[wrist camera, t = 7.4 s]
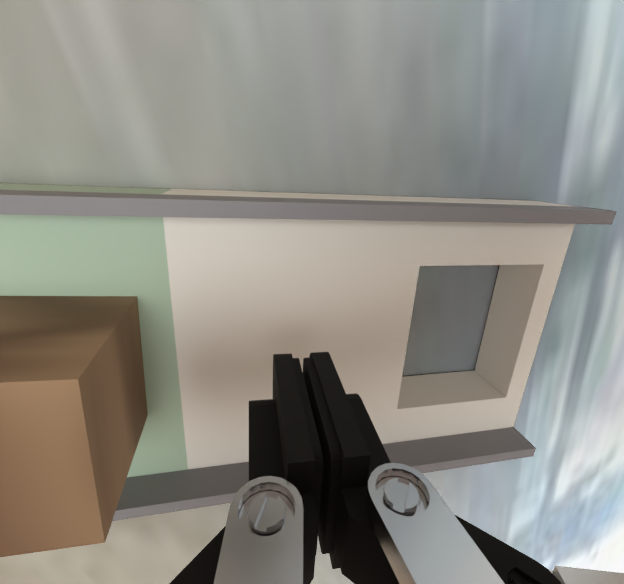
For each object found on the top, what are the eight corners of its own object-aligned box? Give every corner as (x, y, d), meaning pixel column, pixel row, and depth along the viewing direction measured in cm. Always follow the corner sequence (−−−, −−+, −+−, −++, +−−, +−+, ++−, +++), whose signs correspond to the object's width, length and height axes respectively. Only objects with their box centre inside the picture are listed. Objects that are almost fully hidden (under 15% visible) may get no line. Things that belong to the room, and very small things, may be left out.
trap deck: (532, 200, 17) (616, 211, 13) (480, 404, 21) (533, 456, 17) (-302, 173, 10) (-591, 178, 7) (-143, 474, 15) (-269, 579, 11)
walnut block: (137, 296, 12) (77, 379, 7) (147, 414, 14) (104, 542, 9) (-37, 295, 11) (-233, 392, 6) (-2, 424, 13) (-137, 576, 8)
